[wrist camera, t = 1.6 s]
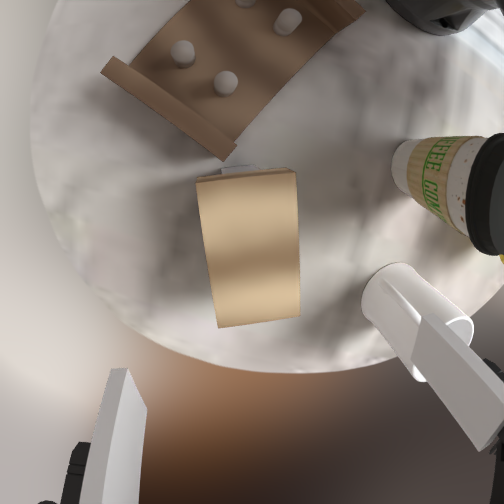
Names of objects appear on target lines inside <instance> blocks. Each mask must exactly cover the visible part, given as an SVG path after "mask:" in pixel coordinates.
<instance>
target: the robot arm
mask: <svg viewBox="0 0 504 504" xmlns="http://www.w3.org/2000/svg"><path fill="white" fill-rule="evenodd" d="M386 1H387V2H388V3H389V4H390V5H391V7H392V8H393V9H394V10H395V11H397V12H398V13H399V14H400V15H401V16H402V17H403V18H405V19H406V20H407V21H409V22H410V23H412V24H413V25H415V26H416V27H418V28H420V29H422V30H424V31H426V32H429V33H432V34H435V35H450V34H454V33H458V32H461V31H463V30H465V29H467V28H468V27H469V26H470V25H471V24H472V23H474V22H475V21H476V20H477V19H478V18H480V17H481V16H482V15H483V14H484V13H486V12H487V11H488V10H492V9H497V8H500V10H501V12H502V14H503V16H504V0H386ZM410 360H411V361H412V363H413V364H414V365H415V367H416V368H417V369H418V370H419V372H420V373H421V374H422V375H423V377H424V378H425V379H426V381H427V382H428V383H429V384H430V386H431V387H432V388H433V390H434V391H435V392H436V394H437V395H438V396H439V398H440V399H441V400H442V401H443V403H444V404H445V405H446V407H447V408H448V410H449V411H450V412H451V414H452V415H453V416H454V418H455V419H456V420H457V422H458V423H459V424H460V426H461V427H462V429H463V430H464V431H465V433H466V434H467V436H468V437H469V439H470V440H471V441H472V443H473V444H474V446H475V447H476V448H477V450H478V451H480V450H482V449H484V448H485V447H486V446H488V445H489V444H491V442H492V441H493V440H494V439H495V438H496V436H498V437H499V438H500V439H499V440H498V441H497V443H496V444H495V445H494V446H493V447H492V449H491V450H490V453H489V454H492V453H493V452H494V450H495V449H496V448H497V450H496V452H495V453H494V454H495V455H496V464H495V473H494V481H493V487H492V494H491V499H490V504H504V373H503V372H501V369H500V368H499V367H498V366H497V365H496V364H495V363H493V362H491V361H489V360H488V359H486V358H485V359H483V360H481V358H480V357H479V356H477V354H476V353H475V352H474V351H473V350H472V349H470V348H469V346H468V345H467V344H466V343H465V342H464V341H463V340H462V339H461V338H460V337H458V336H457V335H456V334H455V333H454V332H453V331H452V330H451V329H450V328H449V327H448V326H447V325H446V324H445V323H444V322H443V321H442V320H441V319H440V318H439V317H438V316H436V315H435V314H434V313H431V314H428V315H424V316H422V317H421V321H420V325H419V329H418V333H417V337H416V341H415V345H414V348H413V352H412V355H411V359H410ZM146 415H147V408H146V406H145V404H144V402H143V400H142V398H141V396H140V394H139V392H138V390H137V388H136V385H135V383H134V381H133V379H132V377H131V374H130V372H129V370H128V368H118V369H111V371H110V375H109V378H108V381H107V385H106V388H105V392H104V395H103V399H102V403H101V406H100V410H99V413H98V418H97V421H96V425H95V429H94V433H93V437H92V441H91V443H88V442H79V443H78V444H77V445H76V447H75V449H74V450H73V451H72V454H71V458H70V462H69V464H70V465H69V466H68V470H67V475H66V479H65V484H64V488H63V493H62V499H61V503H60V504H138V499H139V485H140V471H141V460H142V449H143V440H144V431H145V423H146ZM38 504H56V503H55V502H53V501H43V502H40V503H38Z"/></svg>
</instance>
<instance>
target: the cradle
mask: <svg viewBox="0 0 504 504" xmlns="http://www.w3.org/2000/svg"><path fill="white" fill-rule="evenodd" d="M365 12H366V10H364V9H363V8H362V7H361V6H360V5H359V4H358V3H357V2H356V1H355V0H190V1H189V2H188V3H187V4H186V5H185V6H184V7H183V8H182V9H181V10H180V11H179V12H178V13H177V14H176V15H175V16H174V17H173V18H172V19H171V20H170V21H169V22H168V23H167V24H166V25H165V26H164V27H163V28H162V29H161V30H160V31H159V32H158V33H157V34H156V35H155V36H154V37H153V38H152V39H151V41H150V42H149V43H148V44H147V45H146V46H145V47H144V48H143V50H142V51H141V52H140V53H139V54H138V55H137V57H136V58H135V59H134V60H133V61H132V63H131V64H130V65H129V66H128V65H127V64H125V63H124V62H122V61H120V60H119V59H117V58H116V57H114V56H113V57H112V58H111V59H110V60H109V62H108V63H107V64H106V66H105V67H104V68H103V69H102V71H101V72H100V73H101V74H102V75H104V76H105V77H107V78H108V79H110V80H111V81H113V82H114V83H116V84H117V85H119V86H120V87H122V88H123V89H125V90H126V91H127V92H129V93H130V94H132V95H133V96H135V97H136V98H137V99H139V100H140V101H142V102H143V103H145V104H146V105H147V106H149V107H150V108H152V109H153V110H154V111H156V112H157V113H159V114H160V115H161V116H163V117H164V118H165V119H167V120H168V121H170V122H171V123H172V124H174V125H175V126H176V127H178V128H179V129H180V130H182V131H183V132H184V133H186V134H187V135H188V136H190V137H191V138H192V139H194V140H195V141H196V142H198V143H199V144H200V145H202V146H203V147H204V148H206V149H207V150H208V151H210V152H211V153H212V154H213V155H215V156H216V157H217V158H219V159H220V160H221V161H222V162H224V161H225V159H226V158H227V157H228V156H229V155H230V153H231V152H232V151H233V150H234V149H235V147H236V146H237V145H236V144H235V143H234V141H235V140H236V139H237V138H238V137H239V135H240V134H241V133H242V132H243V131H244V130H245V128H246V127H247V126H248V125H249V124H250V123H251V122H252V120H253V119H254V118H255V117H256V116H257V115H258V114H259V113H260V111H261V110H262V109H263V108H264V107H265V106H266V105H267V104H268V103H269V101H270V100H271V99H272V98H273V97H274V96H275V95H276V94H277V93H278V92H279V91H280V89H281V88H282V87H283V86H284V85H285V84H286V83H287V82H288V81H289V80H290V79H291V78H292V77H293V76H294V75H295V74H296V73H297V72H298V71H299V69H300V68H301V67H302V66H303V65H304V64H305V63H306V62H307V61H308V60H309V59H310V58H311V57H312V56H313V55H314V54H315V53H316V52H317V51H318V50H319V49H320V48H321V47H322V46H323V45H324V44H325V43H327V42H328V41H329V40H330V39H331V38H332V37H333V36H334V35H335V34H336V33H337V32H339V31H340V30H342V29H344V28H345V27H347V26H348V25H350V24H351V23H353V22H354V21H356V20H357V19H358V18H359V17H360V16H362V15H363V14H364V13H365Z"/></svg>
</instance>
